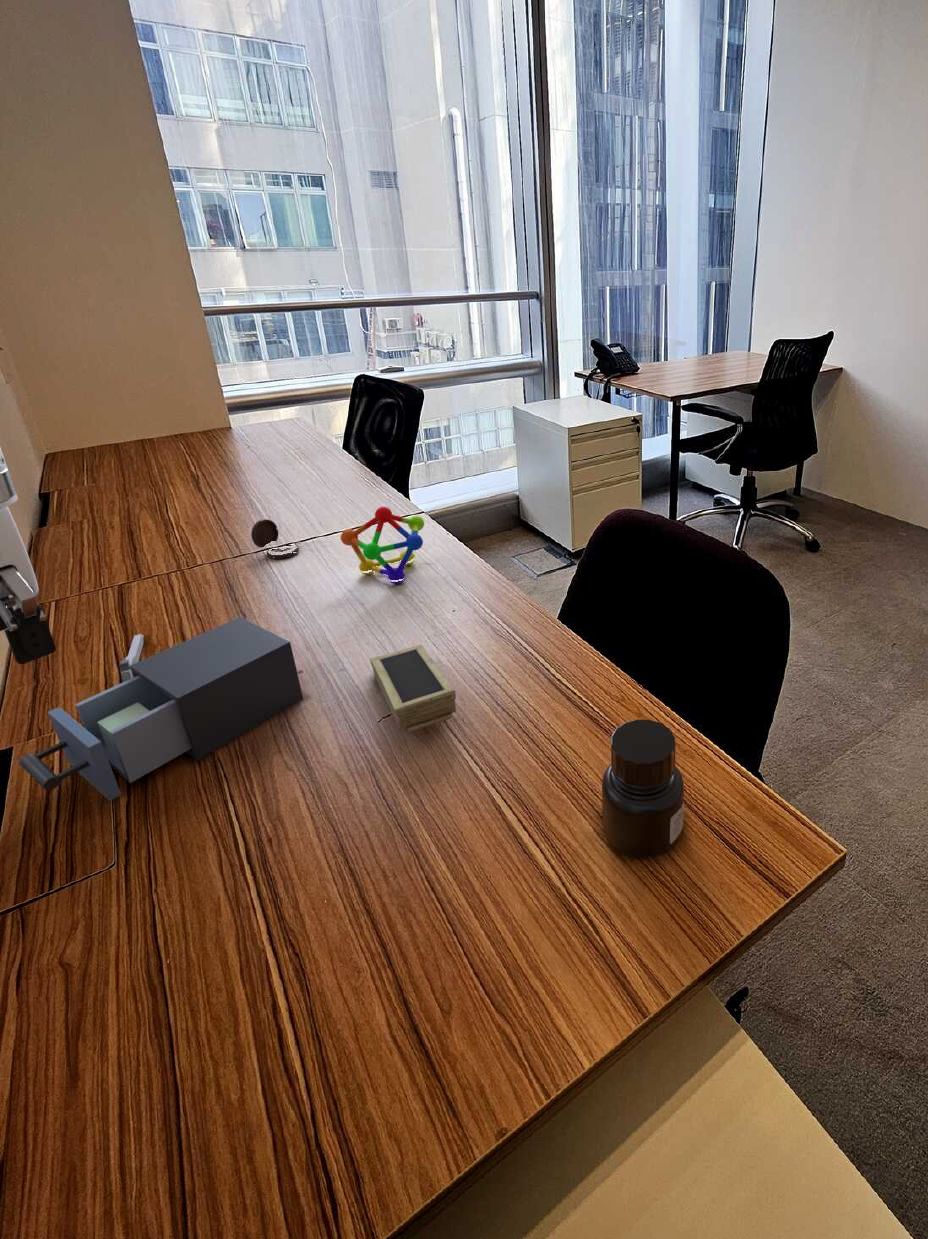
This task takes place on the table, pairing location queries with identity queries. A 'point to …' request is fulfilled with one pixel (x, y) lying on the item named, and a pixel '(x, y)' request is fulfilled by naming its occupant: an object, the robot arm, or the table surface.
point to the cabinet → (225, 681)
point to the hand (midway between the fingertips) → (17, 643)
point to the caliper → (131, 657)
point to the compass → (269, 537)
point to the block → (119, 723)
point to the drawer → (114, 738)
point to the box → (414, 688)
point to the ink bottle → (642, 790)
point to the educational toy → (374, 551)
